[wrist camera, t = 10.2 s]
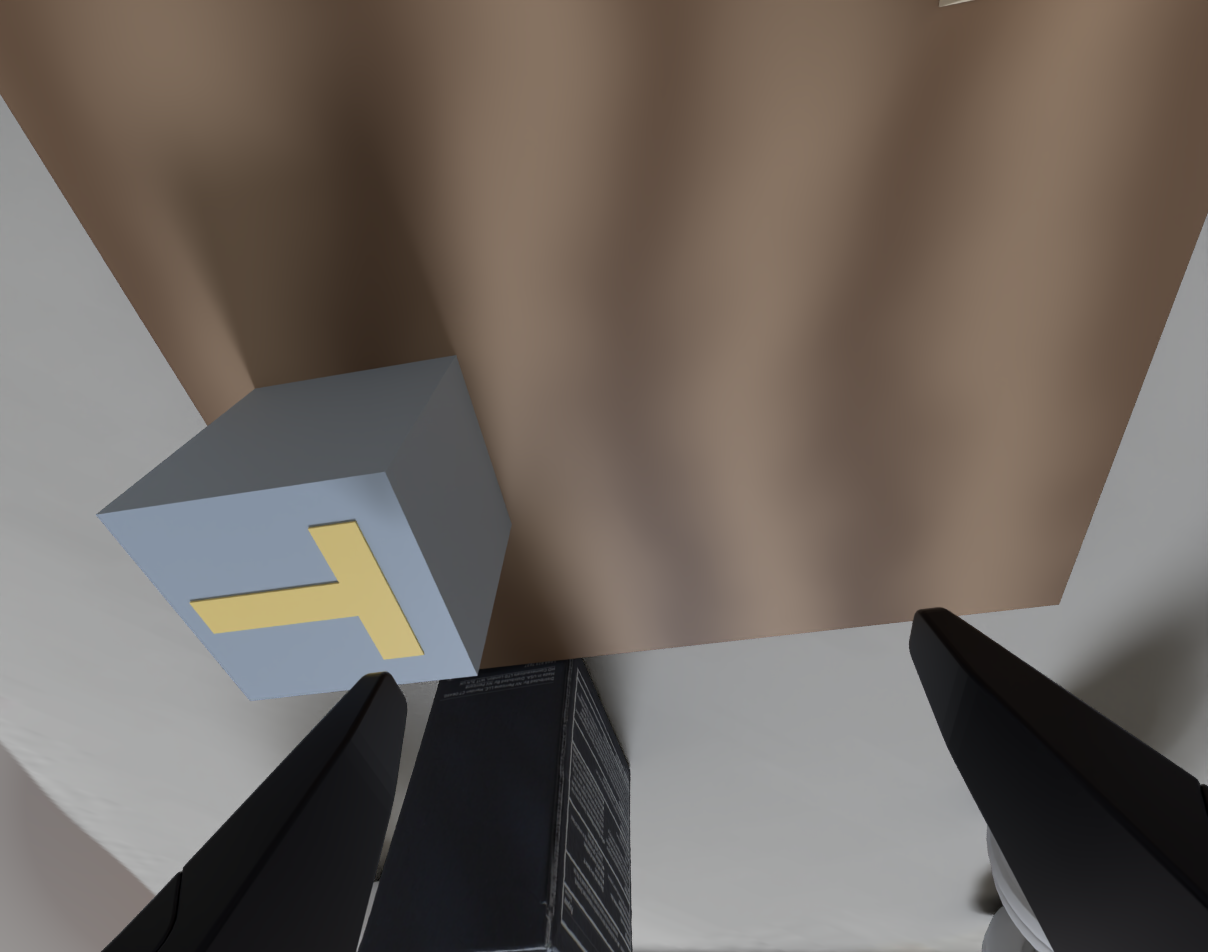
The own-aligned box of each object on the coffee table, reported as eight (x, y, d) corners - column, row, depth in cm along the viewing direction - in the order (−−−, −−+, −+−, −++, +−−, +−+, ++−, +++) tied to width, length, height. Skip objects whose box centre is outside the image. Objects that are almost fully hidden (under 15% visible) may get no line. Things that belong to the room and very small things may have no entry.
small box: (432, 661, 25) (335, 969, 16) (575, 634, 24) (558, 946, 15) (515, 787, 30) (478, 1066, 21) (633, 769, 29) (646, 1054, 20)
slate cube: (93, 516, 11) (255, 388, 16) (248, 702, 14) (342, 547, 19) (384, 473, 10) (456, 354, 16) (477, 677, 14) (511, 524, 19)
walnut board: (1453, -639, 8) (1570, -743, 7) (1037, 581, 22) (1059, 604, 21) (-121, -188, 11) (-195, -218, 10) (377, 657, 24) (367, 681, 23)
